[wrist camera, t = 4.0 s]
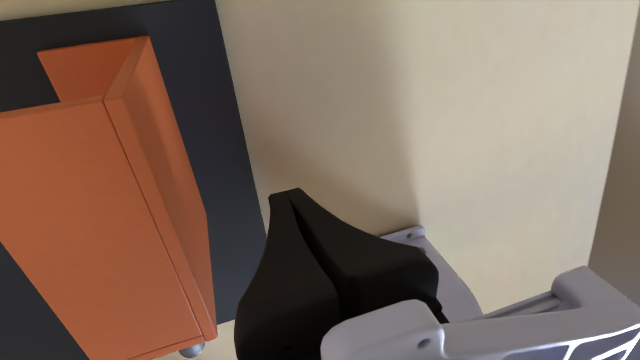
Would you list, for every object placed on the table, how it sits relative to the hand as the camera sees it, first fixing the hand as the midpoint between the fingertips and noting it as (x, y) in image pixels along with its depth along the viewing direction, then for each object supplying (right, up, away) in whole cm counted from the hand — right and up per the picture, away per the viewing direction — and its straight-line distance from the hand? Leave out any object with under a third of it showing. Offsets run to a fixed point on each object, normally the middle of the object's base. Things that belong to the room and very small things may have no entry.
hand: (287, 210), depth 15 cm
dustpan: (-8, 0, +5) cm, 10 cm away
